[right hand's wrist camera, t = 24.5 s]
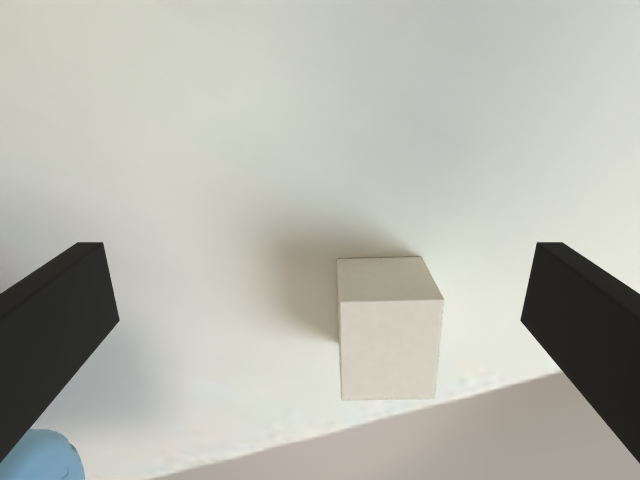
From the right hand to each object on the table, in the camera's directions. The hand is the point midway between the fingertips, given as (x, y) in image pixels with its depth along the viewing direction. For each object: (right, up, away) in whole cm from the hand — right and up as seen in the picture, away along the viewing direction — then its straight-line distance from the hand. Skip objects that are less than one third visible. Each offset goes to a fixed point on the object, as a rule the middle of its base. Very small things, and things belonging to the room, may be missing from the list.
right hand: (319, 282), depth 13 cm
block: (+5, -5, +25) cm, 26 cm away
